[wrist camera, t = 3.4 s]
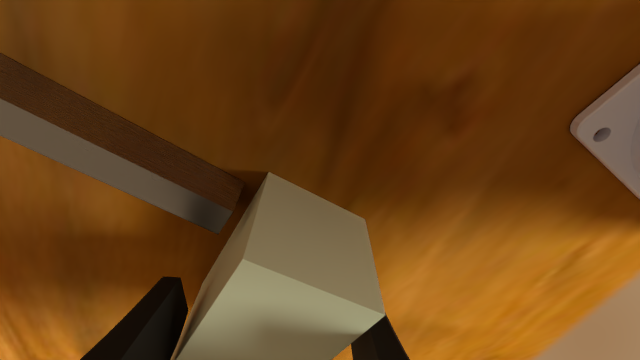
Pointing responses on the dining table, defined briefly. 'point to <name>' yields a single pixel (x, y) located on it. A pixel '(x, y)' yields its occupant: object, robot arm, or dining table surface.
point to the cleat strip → (111, 148)
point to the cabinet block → (286, 283)
